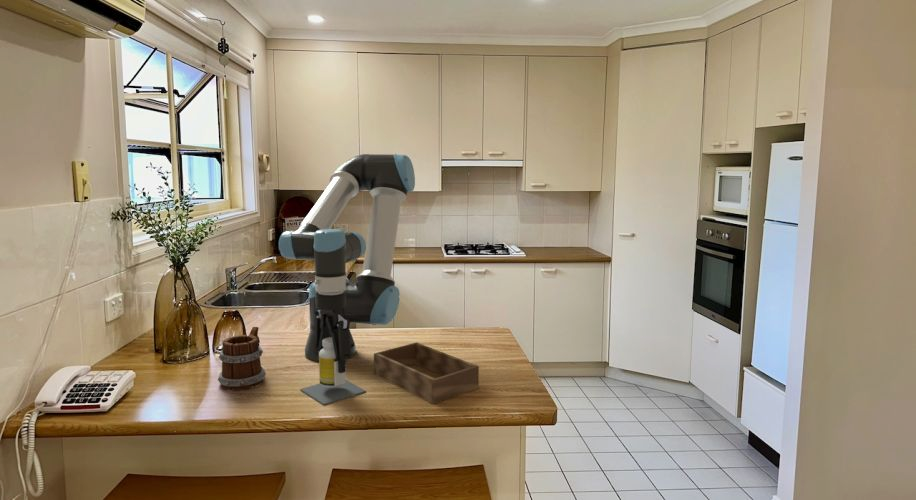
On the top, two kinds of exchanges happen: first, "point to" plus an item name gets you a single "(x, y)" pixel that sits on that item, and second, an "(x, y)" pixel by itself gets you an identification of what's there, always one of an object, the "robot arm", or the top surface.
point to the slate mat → (332, 392)
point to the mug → (241, 362)
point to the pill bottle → (327, 363)
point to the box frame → (434, 390)
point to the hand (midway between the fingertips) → (332, 379)
